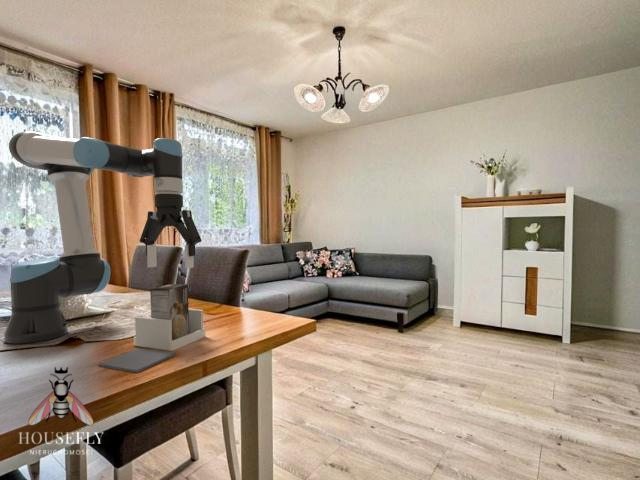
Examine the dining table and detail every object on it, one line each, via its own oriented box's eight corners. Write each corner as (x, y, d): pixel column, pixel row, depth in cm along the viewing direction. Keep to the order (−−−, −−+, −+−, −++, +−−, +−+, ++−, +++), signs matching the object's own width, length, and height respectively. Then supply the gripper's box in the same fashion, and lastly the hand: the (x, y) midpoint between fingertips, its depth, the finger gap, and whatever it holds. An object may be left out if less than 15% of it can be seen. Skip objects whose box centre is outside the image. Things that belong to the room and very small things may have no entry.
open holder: (133, 345, 98) (133, 317, 98) (169, 332, 111) (169, 307, 111) (172, 351, 93) (171, 321, 93) (205, 336, 106) (205, 310, 106)
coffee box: (170, 335, 107) (170, 283, 107) (189, 336, 106) (189, 284, 106) (150, 345, 98) (149, 288, 98) (171, 346, 97) (170, 288, 97)
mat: (98, 366, 83) (98, 363, 83) (140, 349, 94) (140, 347, 94) (137, 372, 79) (136, 370, 79) (175, 355, 90) (175, 352, 90)
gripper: (125, 194, 102) (126, 267, 102) (195, 190, 93) (197, 269, 94) (146, 197, 109) (147, 265, 109) (213, 193, 100) (214, 267, 101)
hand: (170, 267), depth 101 cm, fingers open, 13 cm apart
